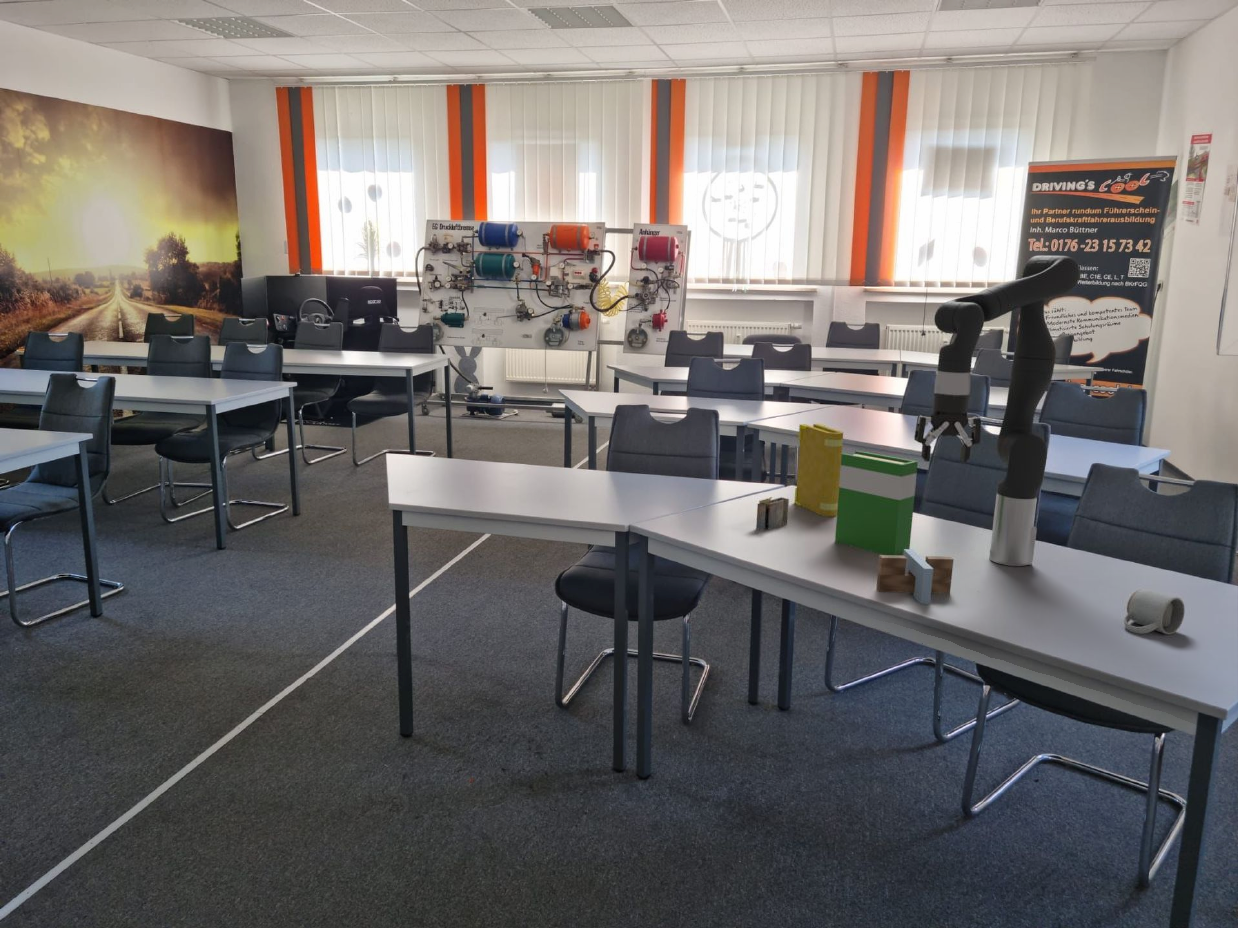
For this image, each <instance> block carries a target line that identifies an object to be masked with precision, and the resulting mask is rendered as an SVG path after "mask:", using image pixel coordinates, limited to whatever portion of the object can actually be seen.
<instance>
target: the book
mask: <svg viewBox="0 0 1238 928" xmlns="http://www.w3.org/2000/svg"><path fill="white" fill-rule="evenodd" d="M798 427H799V430H798V441H799V445H798V446H799V449H798V461H797V462H798V465H797V479H796V487H795V489H794V491H795V492H794V504H795V503H796V505H798V506H799V505H800V506H799V507H803V508H805V507H806V508H805V509H807V510H809V511H811V512H813V513H814V514H815V513H816V514H817V515H818V516H822V517H837V509H838V496H839V482H840V469H841V456H842V454H843V443H844V442H843V441H844V432H843V431H841V430H839V429H835V428H831V427H828V426H826V425H823V424H820V423H813V425H809V424H803V423H802V424H799V426H798Z"/></svg>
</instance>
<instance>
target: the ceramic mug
mask: <svg viewBox="0 0 1238 928" xmlns="http://www.w3.org/2000/svg"><path fill="white" fill-rule="evenodd" d="M1126 612H1127V614H1126V615H1125V616H1124V618H1123V624H1124V627H1125V628H1126V630H1128V631H1129V632H1131V633H1133V634H1148V633H1151V632H1153V631H1157V632H1158V633H1162V634H1164V635H1173V634H1174V633H1176V632H1177V631H1178V630H1179V629H1180V628H1181V625H1182V624H1183V621H1184V617H1185V604H1184V602H1183V600H1182V599H1181V598H1180V597H1178V596H1173V595H1170V594H1165V593H1161V592H1156V591H1153V590H1148V589H1138V590H1136V591H1134V592H1133V593H1131V596H1130V597H1129V598H1128V601H1127V605H1126ZM1130 621H1132V622H1134V623H1135V624H1138V625H1140V626H1133V625H1131V624H1130V623H1129V622H1130Z"/></svg>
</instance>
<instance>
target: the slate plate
mask: <svg viewBox="0 0 1238 928" xmlns="http://www.w3.org/2000/svg"><path fill="white" fill-rule="evenodd" d="M902 556H905V557H906V558H907V559H906V570H905V573H912V574H913V575H914V576H915V577H916V580H915V590H914V593H913V597H914V598H915V599H916V601H917V602H918V603H919V604H920V603H921V604H920V605H930V604H931V598H932V596H931V594H932V593H931V587H932V577H933V568H932V567H931V566H930V565H929V564H928V563H926V562H925V559H924V558H922V557H921V556H920V555H919V554H918V553H917V552H916V551H915V550H913V549H911V548H910V549H904V552H903V554H902Z"/></svg>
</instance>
